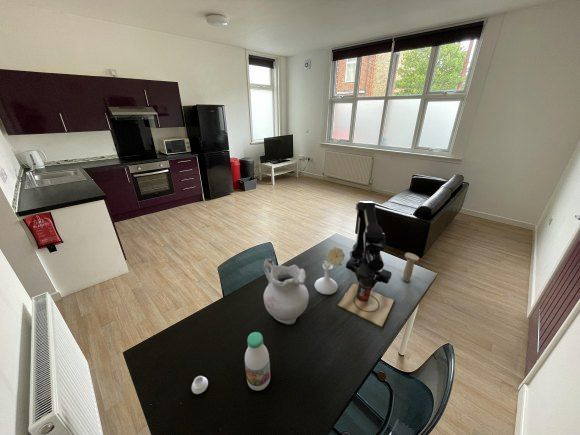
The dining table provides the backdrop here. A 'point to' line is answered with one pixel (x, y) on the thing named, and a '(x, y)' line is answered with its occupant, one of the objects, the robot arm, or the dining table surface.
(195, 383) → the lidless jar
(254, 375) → the milk bottle
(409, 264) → the handle
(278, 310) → the ceramic pitcher
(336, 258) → the flower in vase
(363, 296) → the deodorant
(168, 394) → the dining table surface
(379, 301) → the circle mat
